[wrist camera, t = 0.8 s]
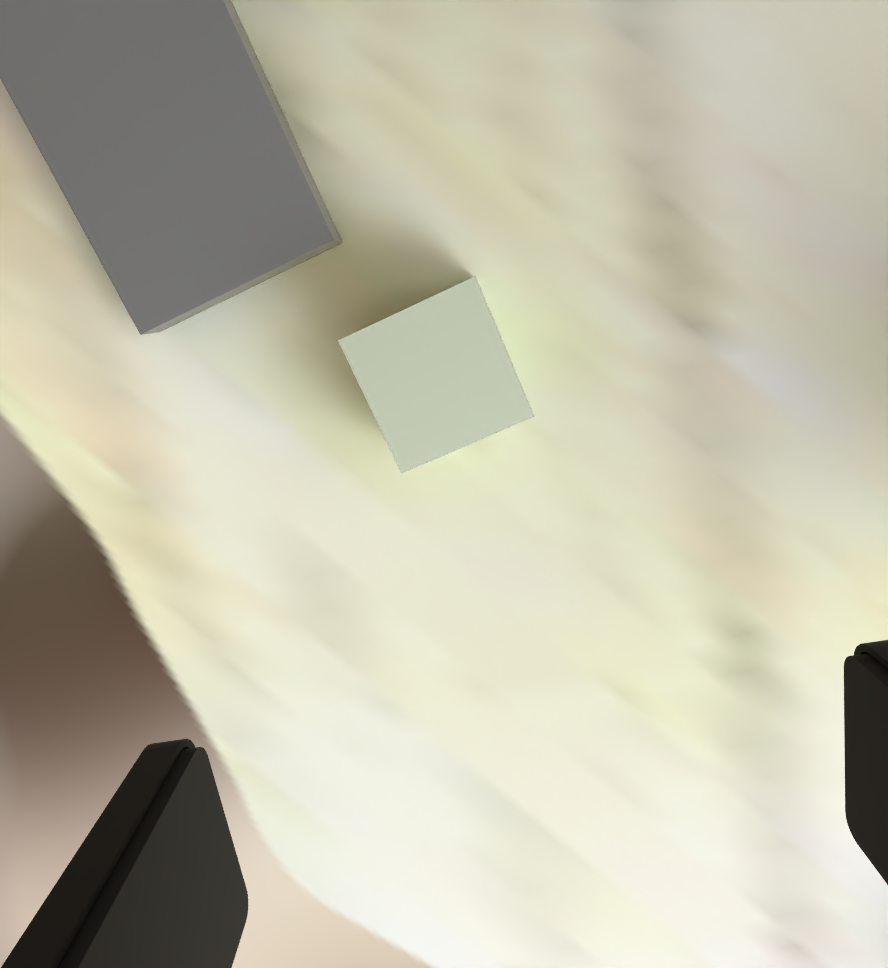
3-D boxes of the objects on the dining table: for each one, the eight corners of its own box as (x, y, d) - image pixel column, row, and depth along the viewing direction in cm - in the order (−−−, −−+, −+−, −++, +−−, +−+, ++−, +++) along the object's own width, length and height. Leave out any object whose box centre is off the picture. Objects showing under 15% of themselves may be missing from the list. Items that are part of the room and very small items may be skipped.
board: (67, -354, 27) (36, -403, 25) (342, 242, 33) (333, 239, 31) (-137, -217, 29) (-180, -252, 27) (159, 331, 34) (140, 334, 32)
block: (475, 278, 33) (475, 276, 27) (524, 394, 34) (534, 416, 29) (361, 331, 34) (337, 340, 28) (413, 443, 35) (401, 473, 30)
